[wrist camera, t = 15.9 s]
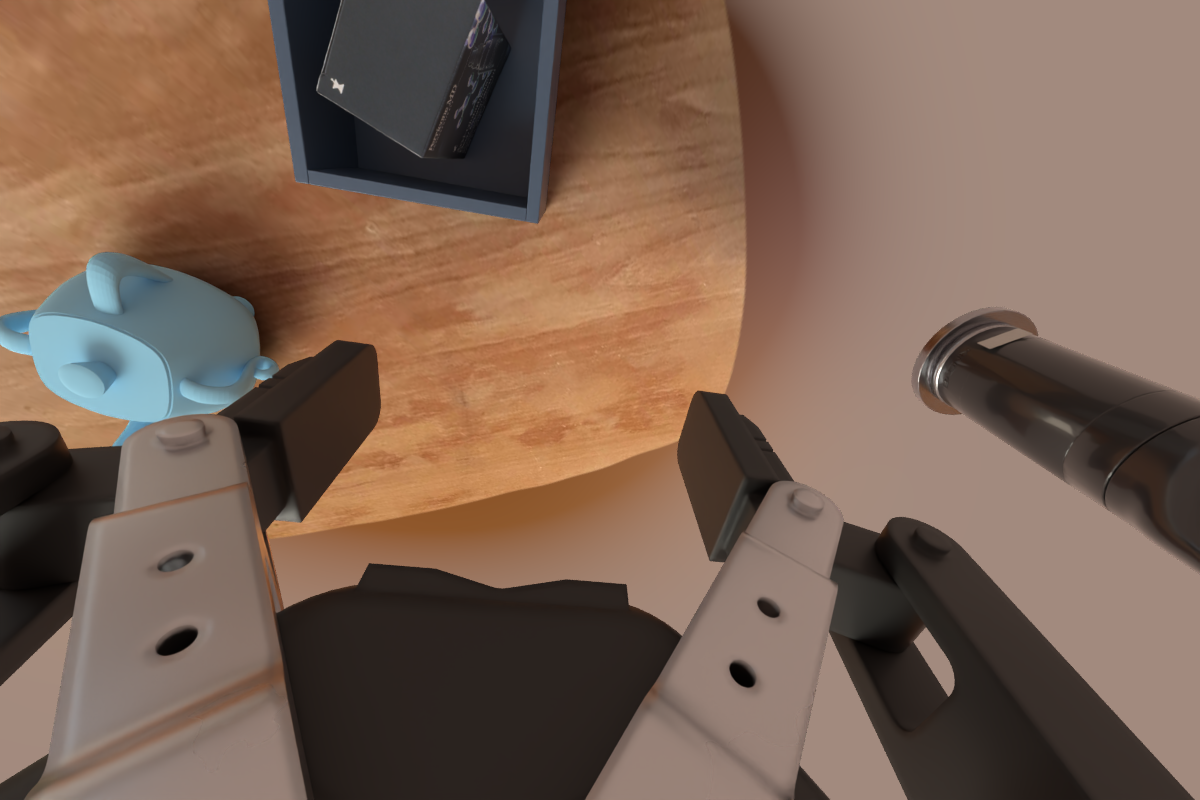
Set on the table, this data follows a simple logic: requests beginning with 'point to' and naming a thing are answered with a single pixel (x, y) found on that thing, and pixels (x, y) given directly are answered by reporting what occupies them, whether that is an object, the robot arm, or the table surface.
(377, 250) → the table surface
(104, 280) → the teapot
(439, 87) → the box
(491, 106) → the tub
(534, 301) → the table surface
